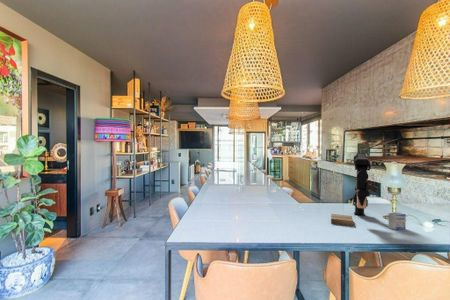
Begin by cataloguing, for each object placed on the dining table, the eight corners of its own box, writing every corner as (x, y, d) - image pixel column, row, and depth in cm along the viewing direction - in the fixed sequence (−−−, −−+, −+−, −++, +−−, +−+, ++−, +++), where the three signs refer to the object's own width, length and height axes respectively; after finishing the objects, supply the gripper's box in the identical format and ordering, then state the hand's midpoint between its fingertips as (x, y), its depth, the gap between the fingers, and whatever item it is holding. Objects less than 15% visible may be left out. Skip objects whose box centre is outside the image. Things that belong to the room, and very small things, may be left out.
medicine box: (395, 230, 138) (395, 215, 138) (388, 227, 142) (388, 212, 142) (405, 229, 140) (406, 214, 140) (398, 226, 144) (398, 212, 144)
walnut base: (331, 218, 160) (331, 213, 160) (351, 220, 155) (351, 216, 155) (331, 223, 149) (331, 218, 149) (353, 226, 144) (353, 221, 144)
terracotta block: (356, 206, 150) (357, 194, 150) (365, 206, 148) (365, 195, 148) (357, 207, 146) (357, 196, 146) (366, 208, 144) (366, 196, 144)
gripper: (380, 182, 135) (380, 209, 135) (374, 178, 152) (374, 202, 153) (357, 180, 140) (357, 207, 140) (354, 177, 157) (354, 201, 157)
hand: (361, 204), depth 147 cm, fingers closed on terracotta block, 4 cm apart
